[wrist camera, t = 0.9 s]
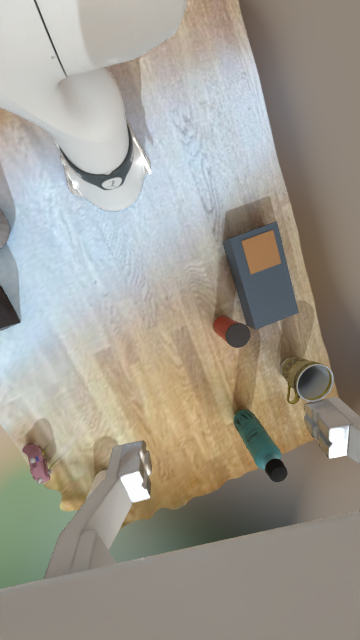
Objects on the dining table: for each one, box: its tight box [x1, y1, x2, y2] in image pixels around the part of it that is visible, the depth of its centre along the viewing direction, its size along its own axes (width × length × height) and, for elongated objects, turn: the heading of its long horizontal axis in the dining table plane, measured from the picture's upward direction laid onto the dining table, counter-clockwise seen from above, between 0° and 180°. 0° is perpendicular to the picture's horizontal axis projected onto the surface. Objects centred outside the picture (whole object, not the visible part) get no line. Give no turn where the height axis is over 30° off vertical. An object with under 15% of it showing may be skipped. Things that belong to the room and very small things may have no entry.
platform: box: [223, 222, 299, 329], centre depth 55 cm, size 23×12×5 cm, turn 19°
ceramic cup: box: [280, 357, 334, 404], centre depth 58 cm, size 13×10×10 cm
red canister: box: [213, 316, 250, 348], centre depth 53 cm, size 6×6×11 cm
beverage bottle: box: [234, 410, 287, 482], centre depth 54 cm, size 6×7×20 cm
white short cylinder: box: [86, 470, 107, 500], centre depth 59 cm, size 7×7×7 cm
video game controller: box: [22, 444, 52, 483], centre depth 56 cm, size 10×5×7 cm, turn 11°
